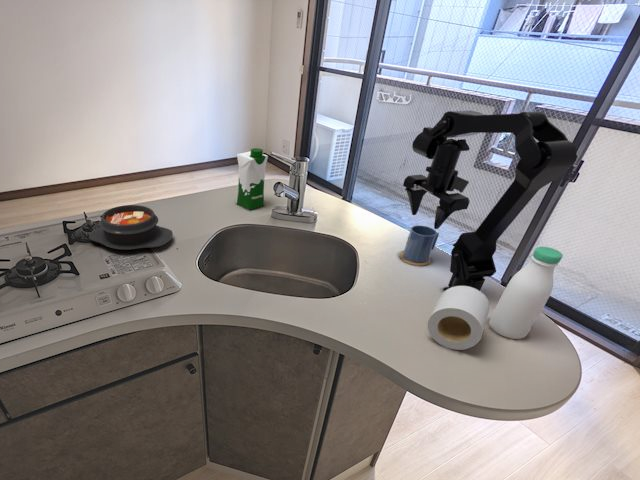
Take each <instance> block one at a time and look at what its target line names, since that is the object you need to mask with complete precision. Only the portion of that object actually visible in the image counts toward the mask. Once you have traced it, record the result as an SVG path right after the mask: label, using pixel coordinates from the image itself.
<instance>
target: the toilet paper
mask: <svg viewBox="0 0 640 480" xmlns="http://www.w3.org/2000/svg"><path fill="white" fill-rule="evenodd" d="M490 309H491V306H490V302H489V299H488V298H487V296H486V295H485V294H484V293H483V292H482V291H481V290H480V291H479V290H477V289H475V288H472V287H469V286H455V287H451V288H449V289H447V290H446V291H444V290H443V292H442V294H441V295H440V297H439V298H438V301H437V302H436V304H435V306H434V308H433V310H432V313H431V314H430V317H429V319H428V321H427V330H428V333H429V335H430V337H431V338H432V339H433V340H434V341H435V342H436V343H437V344H439V345H440V346H442V347H444V348H447V349H451V350H458V351H460V350H461V351H463V350H468V349H471V348H472V347H474V346H476V345H477V344H478V343H479V342H480V341H481V339H482V336H483V333H484V330H485V327H486V323H487V320H488V317H489V313H490Z"/></svg>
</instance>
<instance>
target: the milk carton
mask: <svg viewBox="0 0 640 480" xmlns="http://www.w3.org/2000/svg"><path fill="white" fill-rule="evenodd" d="M236 159H237V164H238V189H237V197H236V199H237V200H236V204H237V205H238V206H240V207H242V208H244V209H246V210H248V211H252V210H254V209H258V208H260V207H265V205H264V204H265V203H264V201H265V195H264V193H265V192H264V191H265V178H266V166H267V162H268V159H269V155H267V154H264V149H262V148H258V147H257V148H251V149H250V151H245V152H241V153H237V154H236Z"/></svg>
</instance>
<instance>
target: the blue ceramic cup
mask: <svg viewBox="0 0 640 480" xmlns="http://www.w3.org/2000/svg"><path fill="white" fill-rule="evenodd" d="M439 236H440V233H439V232H437V230H436V229H434V228H432V227H429V226H426V225H418V224H417V225H412V226H411V227H410V230H409V233H408V237H407V240H406V243H405V247H404V250H403V251H404V253H403V257H404V258H405V259H406V260H408V261H410V262H414V263H425V262H427V260H428V258H430V256H431V252H432V251H434V249H435V247H436V244H437V241H438V238H439Z"/></svg>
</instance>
